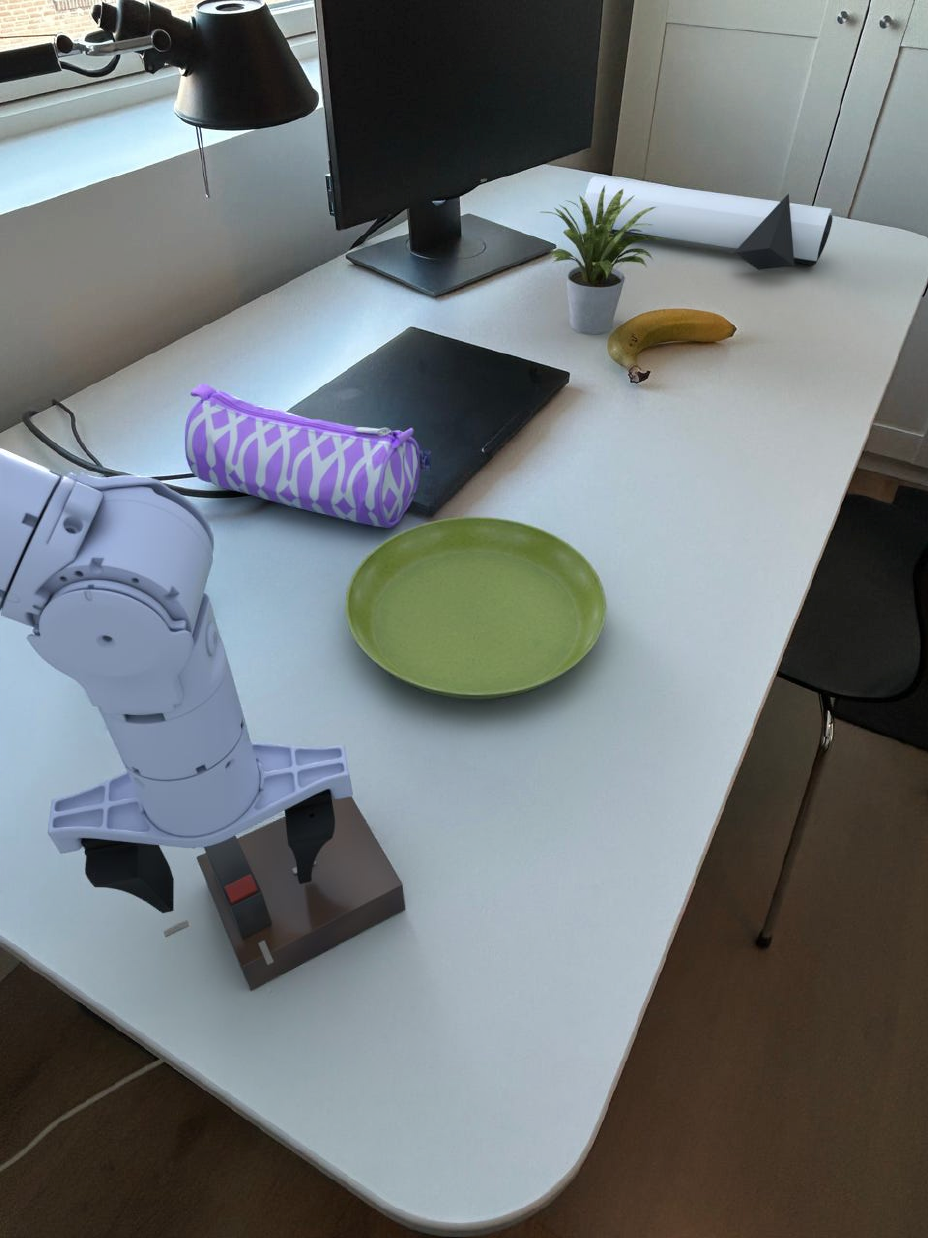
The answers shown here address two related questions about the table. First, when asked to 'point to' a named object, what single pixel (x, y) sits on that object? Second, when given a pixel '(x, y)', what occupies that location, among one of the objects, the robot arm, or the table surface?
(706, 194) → the diploma
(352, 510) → the pencil case
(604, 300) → the house plant
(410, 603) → the green plate
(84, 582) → the robot arm
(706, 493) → the table surface
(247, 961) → the stand
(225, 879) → the stamp handle
